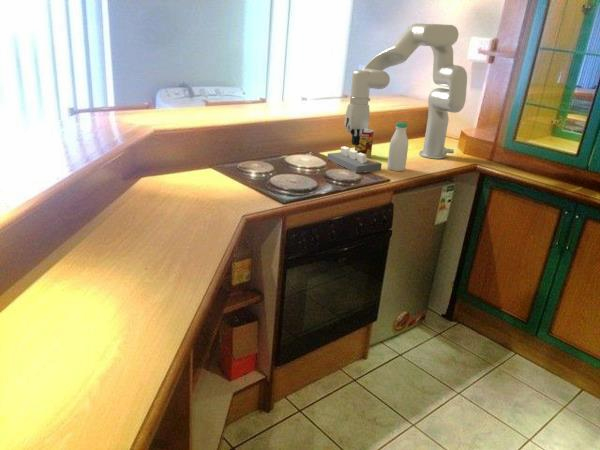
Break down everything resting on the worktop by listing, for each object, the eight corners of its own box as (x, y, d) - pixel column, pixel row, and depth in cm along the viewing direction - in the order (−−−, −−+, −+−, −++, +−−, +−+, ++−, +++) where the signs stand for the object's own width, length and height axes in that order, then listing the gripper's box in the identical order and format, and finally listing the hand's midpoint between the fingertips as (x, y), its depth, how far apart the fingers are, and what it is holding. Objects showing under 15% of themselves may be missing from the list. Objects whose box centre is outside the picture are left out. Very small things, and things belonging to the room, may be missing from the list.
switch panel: (350, 157, 225) (351, 150, 224) (380, 170, 208) (381, 163, 207) (327, 160, 219) (327, 153, 218) (356, 173, 202) (356, 165, 200)
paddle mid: (353, 155, 214) (352, 149, 212) (358, 158, 211) (357, 151, 209) (349, 157, 213) (348, 150, 212) (354, 159, 210) (353, 152, 209)
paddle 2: (361, 159, 209) (360, 152, 208) (366, 161, 206) (366, 154, 205) (357, 160, 209) (356, 153, 207) (363, 163, 205) (362, 156, 204)
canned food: (350, 155, 229) (353, 129, 225) (360, 152, 235) (363, 127, 230) (364, 158, 224) (367, 132, 220) (374, 156, 230) (377, 130, 225)
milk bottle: (404, 172, 206) (411, 125, 199) (386, 170, 208) (392, 123, 200) (405, 167, 213) (411, 121, 206) (387, 166, 215) (392, 120, 207)
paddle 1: (345, 152, 219) (344, 146, 217) (350, 154, 216) (349, 148, 214) (341, 154, 218) (340, 147, 216) (346, 156, 215) (345, 149, 213)
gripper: (368, 99, 209) (364, 141, 216) (339, 100, 202) (336, 144, 209) (379, 102, 203) (374, 145, 211) (349, 103, 196) (346, 148, 203)
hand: (355, 144), depth 210 cm, fingers closed
